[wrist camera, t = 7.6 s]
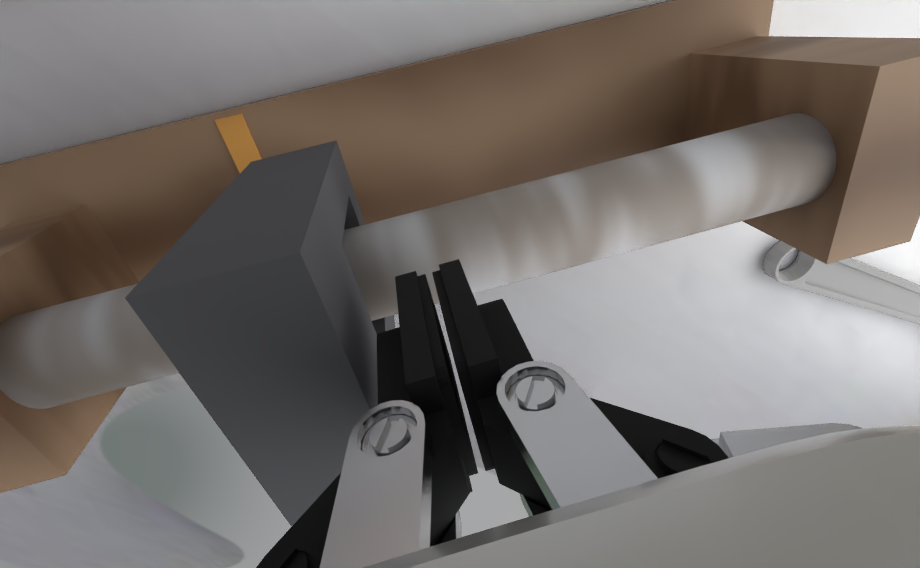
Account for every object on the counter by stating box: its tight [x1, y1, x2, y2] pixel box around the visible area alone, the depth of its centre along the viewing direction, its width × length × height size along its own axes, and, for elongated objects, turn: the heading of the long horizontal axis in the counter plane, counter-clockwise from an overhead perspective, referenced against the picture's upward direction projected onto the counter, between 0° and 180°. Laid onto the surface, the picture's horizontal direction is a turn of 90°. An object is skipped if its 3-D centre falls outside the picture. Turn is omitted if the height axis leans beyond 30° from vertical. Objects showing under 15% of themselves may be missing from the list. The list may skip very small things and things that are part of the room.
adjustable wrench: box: [763, 241, 920, 324], centre depth 29 cm, size 25×6×2 cm, turn 65°
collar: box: [125, 140, 395, 526], centre depth 13 cm, size 7×3×9 cm, turn 12°
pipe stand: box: [0, 0, 920, 493], centre depth 16 cm, size 10×32×9 cm, turn 102°
